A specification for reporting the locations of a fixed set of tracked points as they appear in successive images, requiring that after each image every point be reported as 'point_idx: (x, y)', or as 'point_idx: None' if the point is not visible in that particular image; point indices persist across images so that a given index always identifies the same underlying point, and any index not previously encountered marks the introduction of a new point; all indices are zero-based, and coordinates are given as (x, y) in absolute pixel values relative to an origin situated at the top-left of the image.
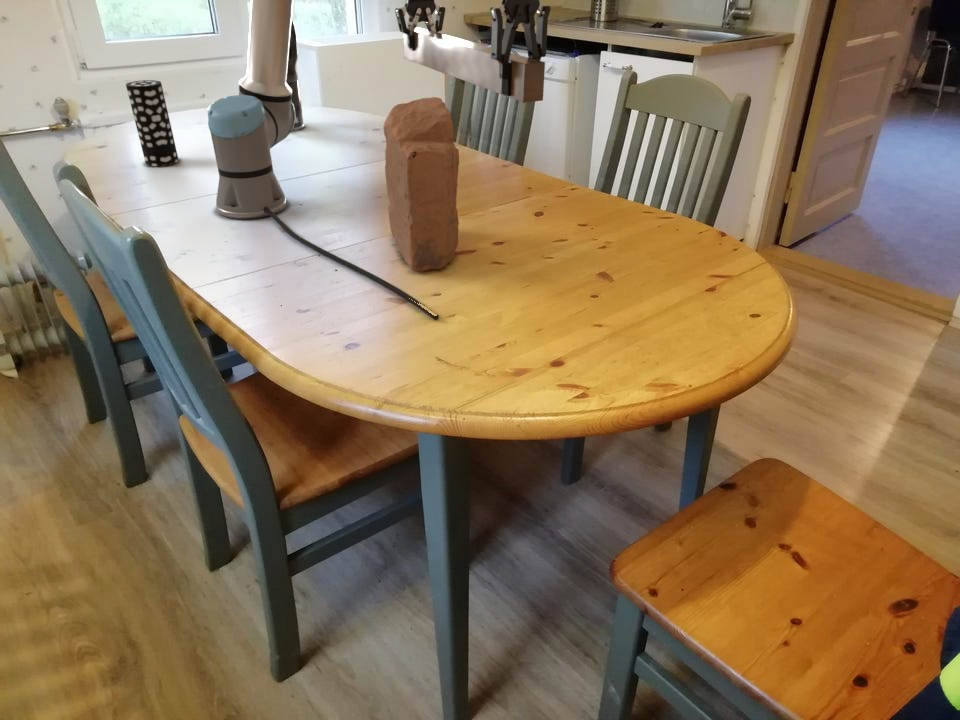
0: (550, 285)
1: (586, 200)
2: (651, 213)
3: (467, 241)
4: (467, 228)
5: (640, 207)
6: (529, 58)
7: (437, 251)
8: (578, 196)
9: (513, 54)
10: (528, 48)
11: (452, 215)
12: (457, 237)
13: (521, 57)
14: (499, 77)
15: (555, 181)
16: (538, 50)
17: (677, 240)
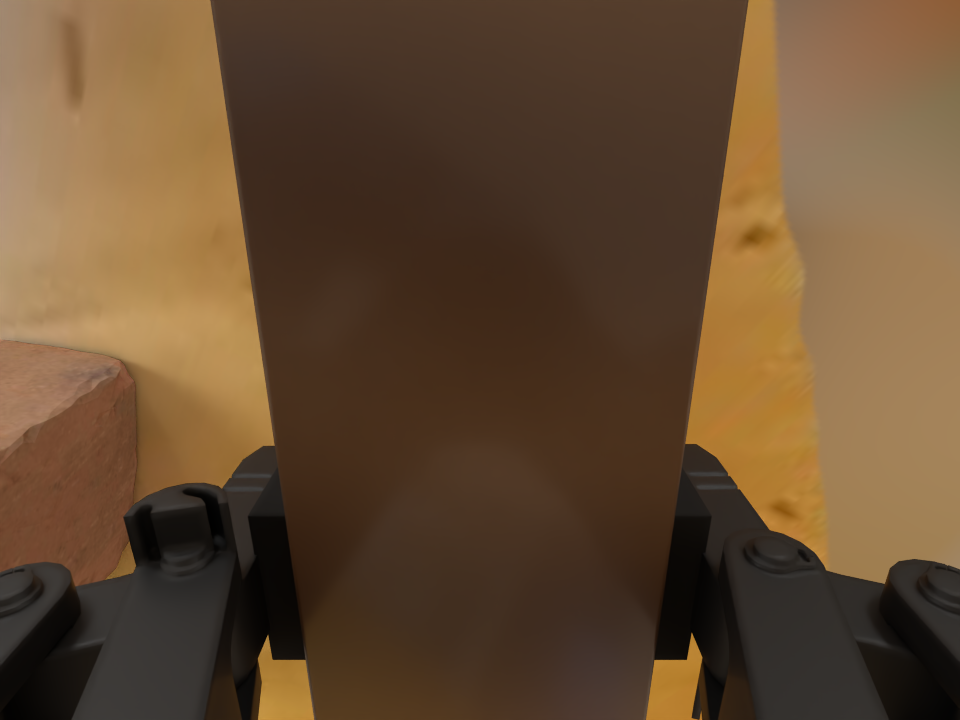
0: (290, 702)
1: (707, 353)
2: (786, 519)
3: (197, 463)
4: (229, 386)
5: (801, 473)
6: (623, 682)
7: None
8: (713, 308)
9: (640, 268)
10: (734, 715)
11: None
12: (105, 578)
13: (569, 580)
14: (258, 451)
15: (766, 116)
16: (927, 682)
17: (689, 660)
